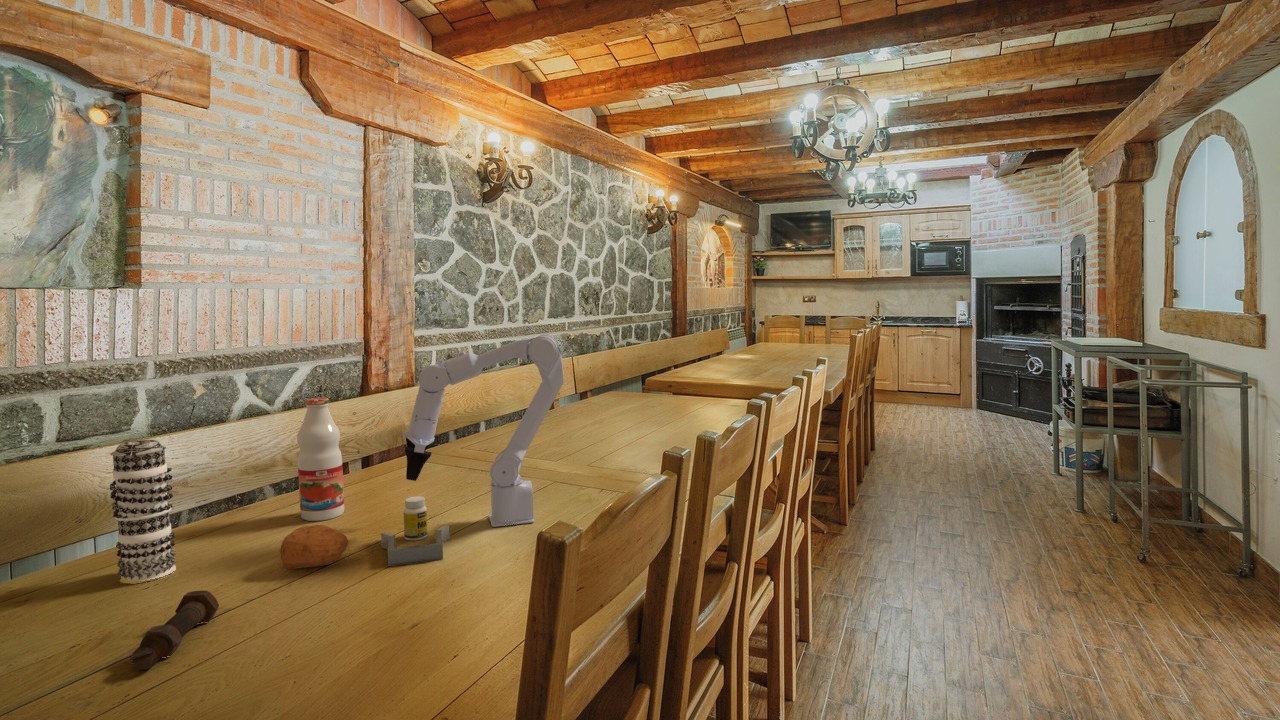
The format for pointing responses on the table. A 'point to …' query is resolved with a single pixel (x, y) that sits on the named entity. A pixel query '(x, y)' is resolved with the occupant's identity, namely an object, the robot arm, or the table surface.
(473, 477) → the table surface
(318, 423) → the fruit juice
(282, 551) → the potato
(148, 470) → the decorative candle
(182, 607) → the bolt
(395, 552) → the steel bracket
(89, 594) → the table surface
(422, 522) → the supplement bottle
